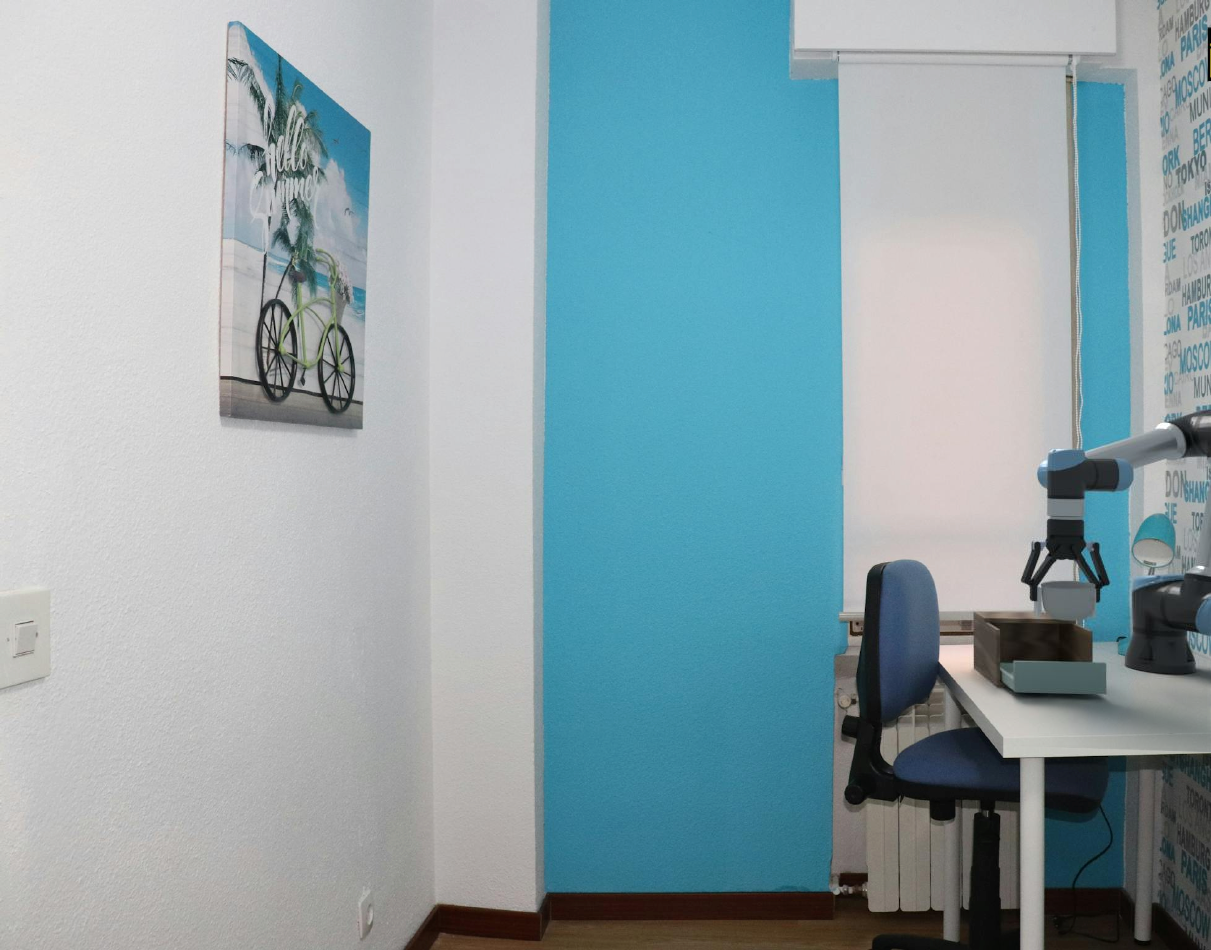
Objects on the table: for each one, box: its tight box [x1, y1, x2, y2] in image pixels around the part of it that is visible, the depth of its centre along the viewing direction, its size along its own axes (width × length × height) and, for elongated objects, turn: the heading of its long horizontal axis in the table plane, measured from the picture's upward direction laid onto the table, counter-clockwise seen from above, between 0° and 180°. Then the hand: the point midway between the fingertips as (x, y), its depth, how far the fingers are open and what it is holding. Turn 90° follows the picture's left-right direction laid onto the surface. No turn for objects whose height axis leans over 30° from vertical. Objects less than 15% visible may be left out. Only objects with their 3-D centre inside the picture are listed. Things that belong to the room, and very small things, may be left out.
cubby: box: [973, 611, 1094, 688], centre depth 219 cm, size 21×20×14 cm
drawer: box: [1000, 661, 1107, 695], centre depth 209 cm, size 19×20×7 cm
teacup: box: [1040, 580, 1095, 622], centre depth 207 cm, size 14×11×8 cm
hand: (1064, 616), depth 208 cm, fingers closed on teacup, 11 cm apart
